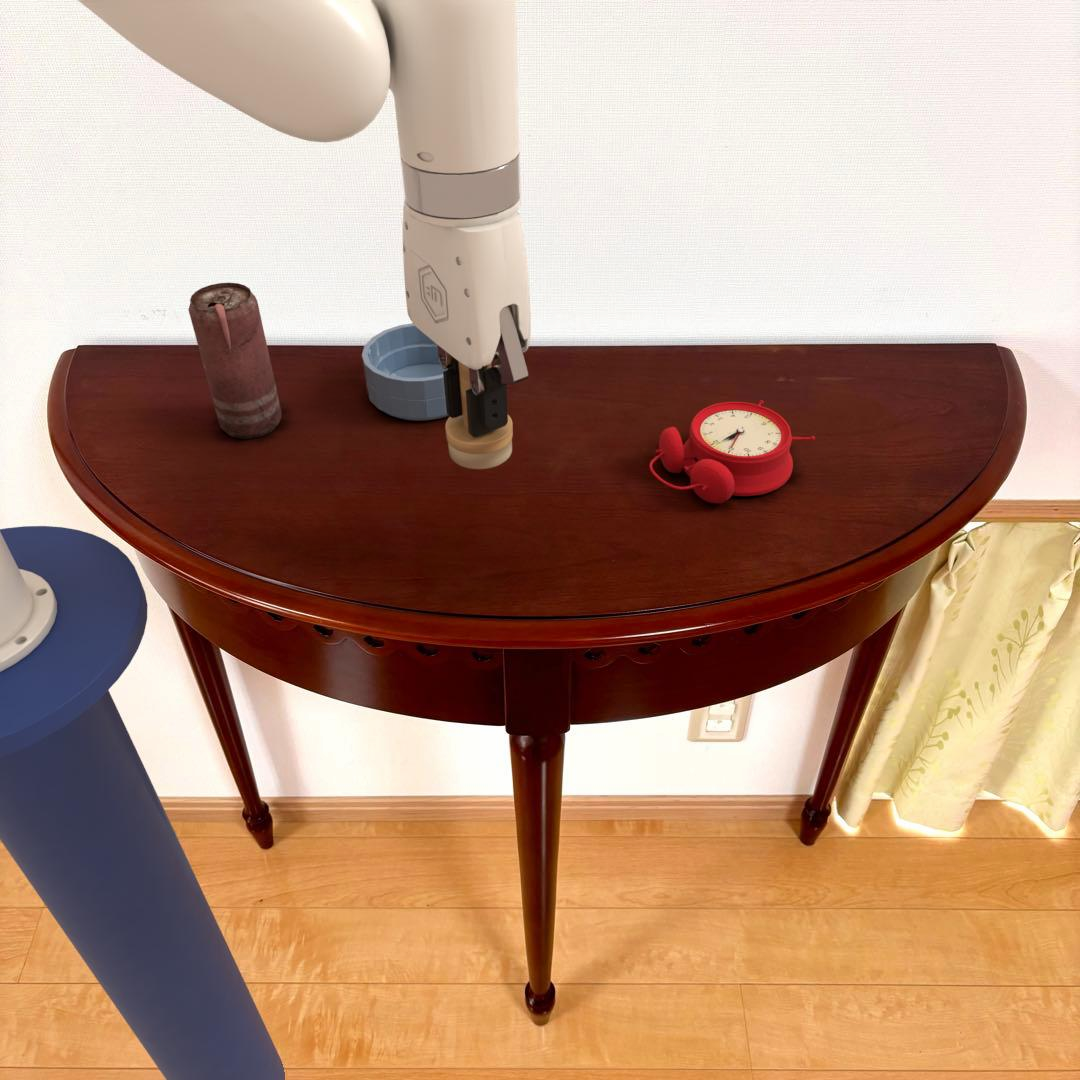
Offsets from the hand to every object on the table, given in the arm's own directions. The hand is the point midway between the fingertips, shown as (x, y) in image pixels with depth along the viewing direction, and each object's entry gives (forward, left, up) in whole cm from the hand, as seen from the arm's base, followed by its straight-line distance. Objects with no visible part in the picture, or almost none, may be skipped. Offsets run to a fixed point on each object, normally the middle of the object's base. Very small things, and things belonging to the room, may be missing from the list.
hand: (477, 418), depth 74 cm
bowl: (+8, +24, -13) cm, 28 cm away
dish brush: (0, 0, -3) cm, 3 cm away
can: (-9, +29, -13) cm, 33 cm away
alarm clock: (+24, -4, -13) cm, 28 cm away
